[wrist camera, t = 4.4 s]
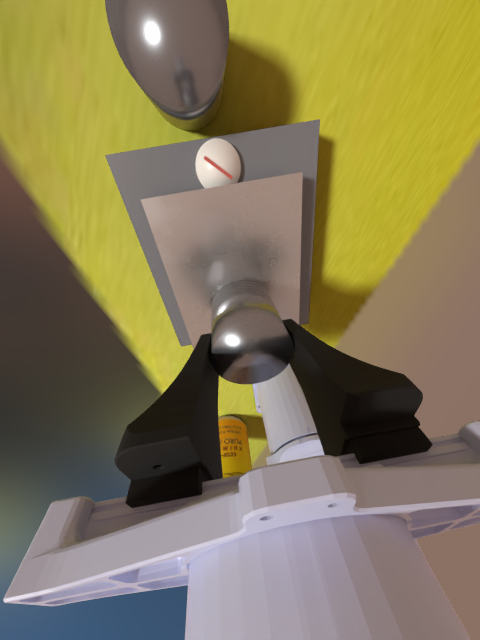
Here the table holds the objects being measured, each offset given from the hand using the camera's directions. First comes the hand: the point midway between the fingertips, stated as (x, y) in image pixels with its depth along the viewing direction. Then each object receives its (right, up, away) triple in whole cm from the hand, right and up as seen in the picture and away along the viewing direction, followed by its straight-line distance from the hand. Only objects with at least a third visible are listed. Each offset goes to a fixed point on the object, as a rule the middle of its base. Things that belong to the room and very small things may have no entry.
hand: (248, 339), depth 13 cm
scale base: (-1, +7, +4) cm, 8 cm away
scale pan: (-1, +5, +2) cm, 5 cm away
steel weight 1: (-4, +15, -1) cm, 15 cm away
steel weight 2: (0, +2, +2) cm, 3 cm away
